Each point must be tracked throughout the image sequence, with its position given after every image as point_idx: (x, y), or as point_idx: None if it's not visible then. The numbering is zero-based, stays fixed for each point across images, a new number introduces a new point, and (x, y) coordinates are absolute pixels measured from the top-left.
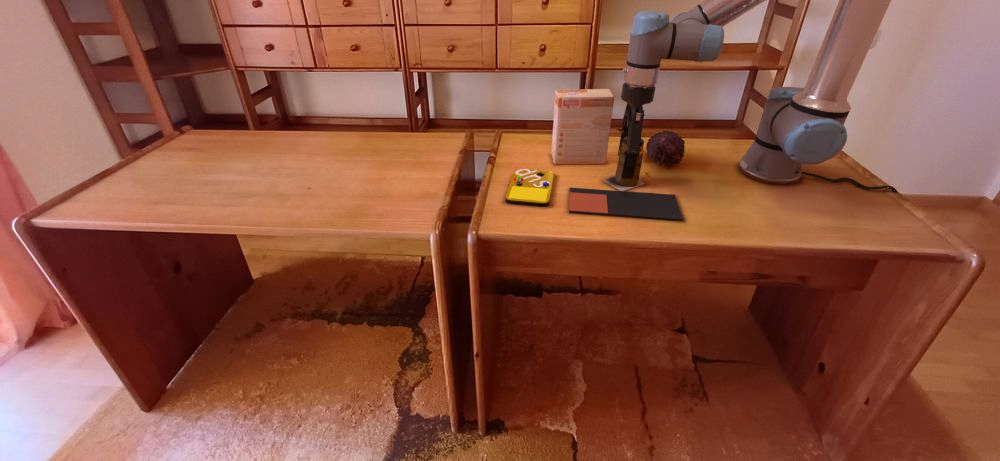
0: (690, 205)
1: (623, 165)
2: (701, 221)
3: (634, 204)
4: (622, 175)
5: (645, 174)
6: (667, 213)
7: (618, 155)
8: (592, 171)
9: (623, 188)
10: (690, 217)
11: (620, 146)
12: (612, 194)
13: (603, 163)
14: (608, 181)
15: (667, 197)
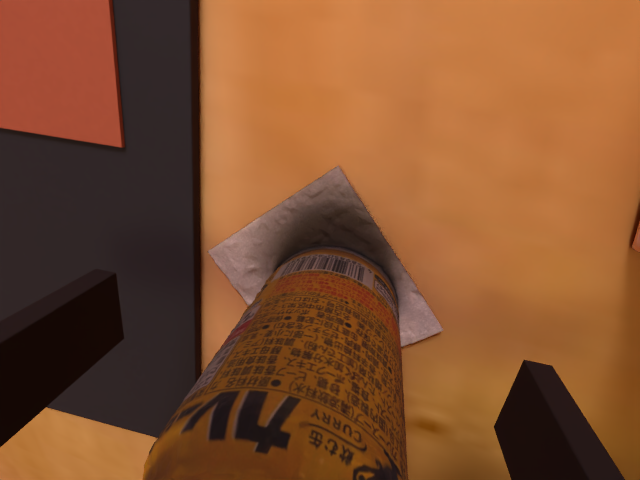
0: (146, 458)
1: (17, 328)
2: (51, 441)
3: (70, 270)
4: (78, 281)
5: (423, 419)
6: None
7: (524, 365)
8: (512, 120)
9: (242, 266)
10: (65, 424)
11: (565, 454)
12: (143, 187)
13: (636, 233)
14: (324, 203)
15: (167, 416)
